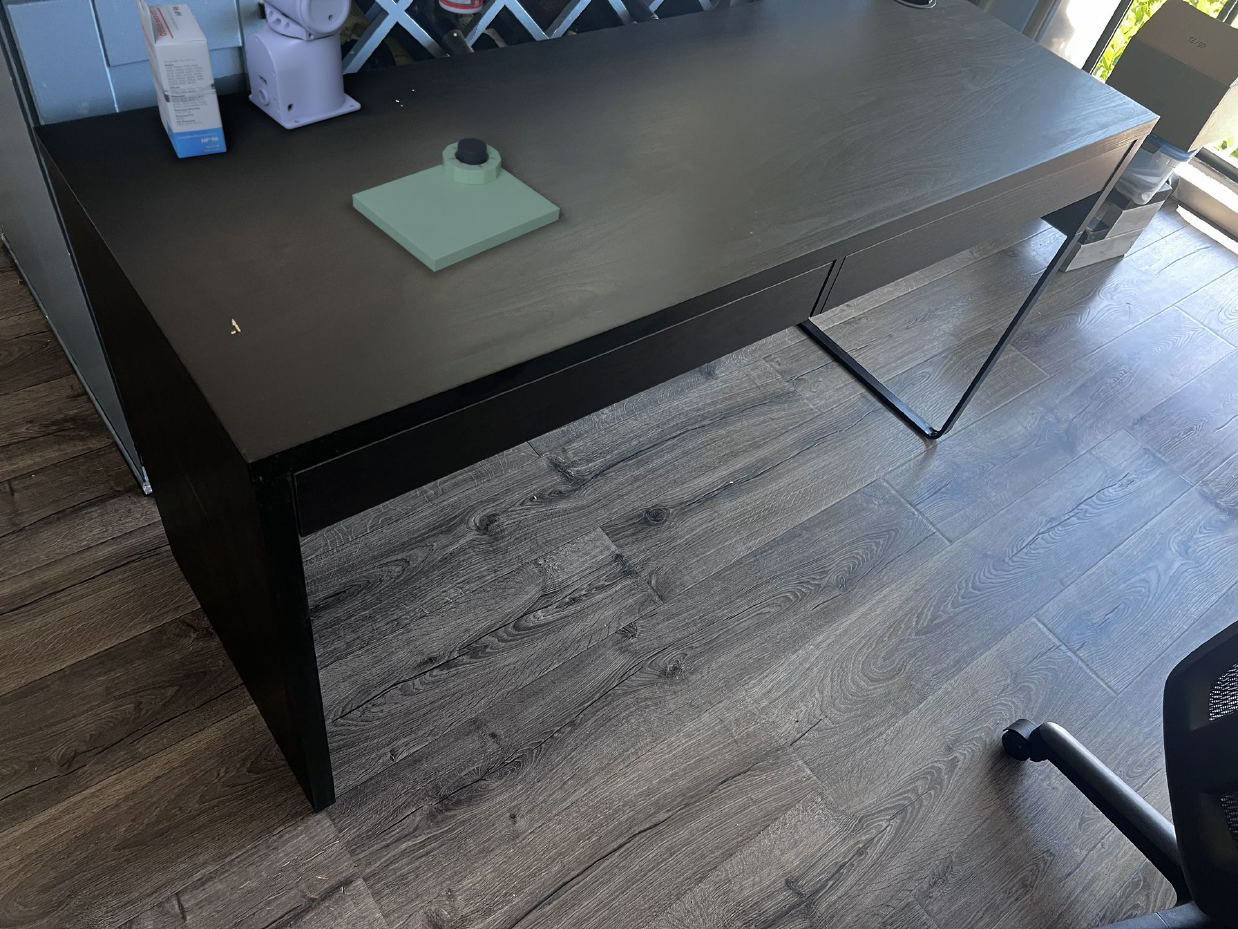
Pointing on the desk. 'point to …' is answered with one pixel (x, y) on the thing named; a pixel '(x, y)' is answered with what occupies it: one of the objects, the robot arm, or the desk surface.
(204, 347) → the desk surface
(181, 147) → the ink box
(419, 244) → the green flat slab
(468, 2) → the pill bottle
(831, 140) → the desk surface
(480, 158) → the button
